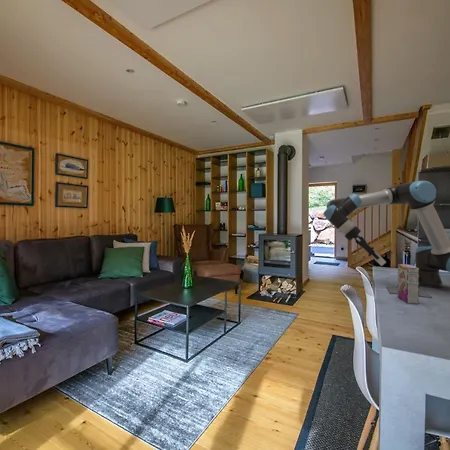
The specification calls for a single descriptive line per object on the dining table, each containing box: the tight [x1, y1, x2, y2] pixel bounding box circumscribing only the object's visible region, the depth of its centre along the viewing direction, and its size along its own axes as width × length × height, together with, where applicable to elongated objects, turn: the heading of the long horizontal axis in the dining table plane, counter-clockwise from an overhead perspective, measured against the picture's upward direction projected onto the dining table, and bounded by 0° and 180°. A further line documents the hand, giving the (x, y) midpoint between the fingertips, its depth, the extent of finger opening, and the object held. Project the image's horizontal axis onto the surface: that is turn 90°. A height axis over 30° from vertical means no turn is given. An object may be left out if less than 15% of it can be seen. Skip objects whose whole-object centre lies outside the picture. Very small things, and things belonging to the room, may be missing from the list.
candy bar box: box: [397, 263, 420, 305], centre depth 132 cm, size 11×5×16 cm, turn 168°
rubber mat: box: [385, 286, 433, 299], centre depth 148 cm, size 18×16×1 cm
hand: (382, 262), depth 136 cm, fingers open, 13 cm apart
